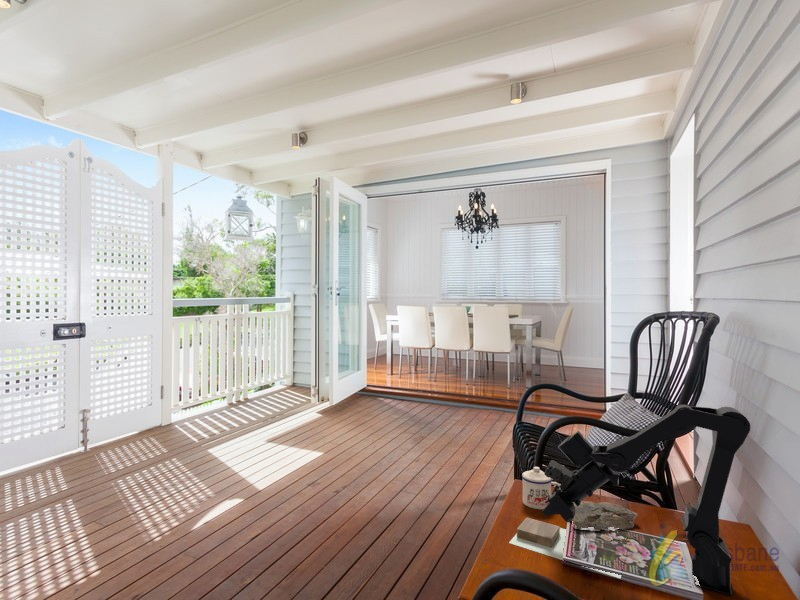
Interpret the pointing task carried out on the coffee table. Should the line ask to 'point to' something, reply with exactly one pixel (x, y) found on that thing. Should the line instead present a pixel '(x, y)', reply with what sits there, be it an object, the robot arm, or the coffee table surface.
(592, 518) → the grey rock
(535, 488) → the teacup with lid
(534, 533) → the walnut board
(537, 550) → the sage mat
